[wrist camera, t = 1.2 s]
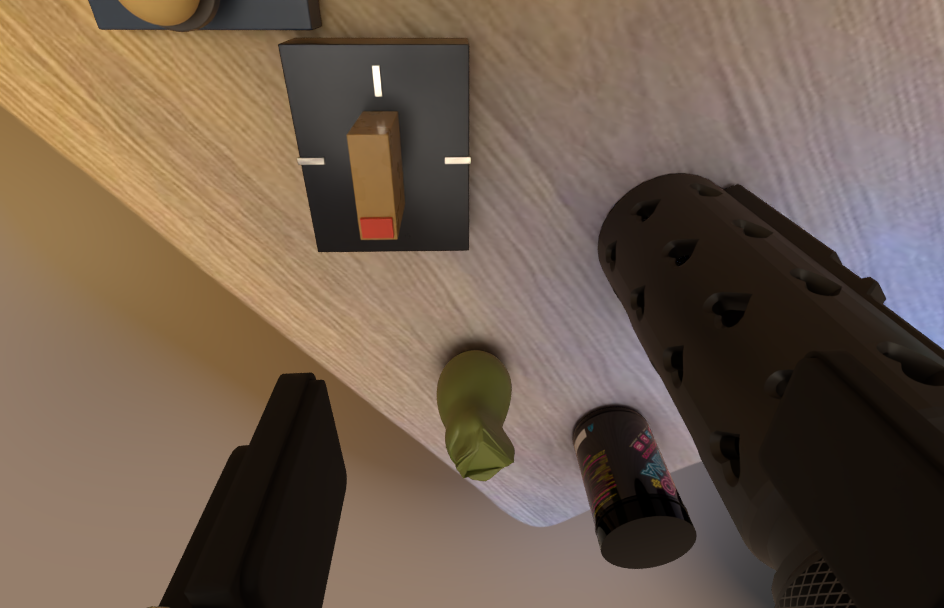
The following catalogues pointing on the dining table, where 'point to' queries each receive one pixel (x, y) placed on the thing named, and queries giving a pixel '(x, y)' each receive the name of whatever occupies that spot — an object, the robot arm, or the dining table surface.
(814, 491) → the robot arm
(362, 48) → the base
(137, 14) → the lamp dome
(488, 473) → the pear
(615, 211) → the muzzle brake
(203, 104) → the dining table surface
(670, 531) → the supplement container
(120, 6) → the button base
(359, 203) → the orange brown rectangular block
